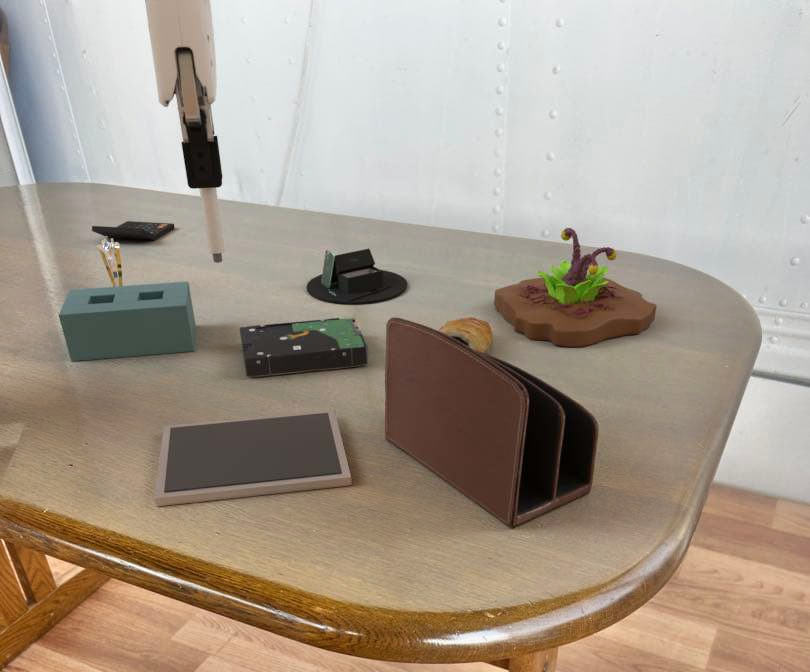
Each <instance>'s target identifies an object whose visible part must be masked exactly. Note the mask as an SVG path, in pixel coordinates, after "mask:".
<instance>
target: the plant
mask: <svg viewBox="0 0 810 672" xmlns="http://www.w3.org/2000/svg"><path fill="white" fill-rule="evenodd" d="M560 238H561V240H563V241H569V240H571V239H572V244H573V245H572V250H573V251H572V255H571V257H572V259H571V260H570V262H568V261H566V260H562V261H561V262H560V263H559V266H558V267H555V266H554V265H549V270H550V272H551V273H552V275H550V274H548V273H547V272H545V271H540V270H536V274H537V275H538V276H539V277H537V278H536V277H535V278H529V279H523V280H521V281H519V282H518V283H514V284H510V285H505V286H503V287H500V288H498V289H496V290H495V291H494V298H493V299H494V300H493V305H494V309H495V311H497V312H498V313H499V314H501V315H502V316H503V319H504V320H505V321H506V322H507V323H509V324H510V325H512V326H514V327H513V330H514V332H516V333H520V334H524V335H525V336H526V337H527V338H528V339H529V340H532V341H549V342H551V343H552V344H553V345H554V346H558V347H568V348H579V347H587V346H590V345H594V344H597V343H599V342H602V341H604V340H609V339H613V338H617V337H618V338H619V337H623V336H629V335H631V336H632V335H639V334H641V333H642V332H643V331H645V330H647V329H649V327H650V326H651V324H652V322H654V320H655V317H656V313H657V304H656V303H653V302H650V301H647V300H646V299H644V297H643V294H642V293H641V292H639V291H636V290H634V289H631V288H628V287H625V286H623V285H621V284H619V283H617V282H615V281H614V280H612V279H609V278H607V277H605V276H606V274H607V272H608V271H609V267H608V266H603V267H599V263H598V261H597V260H596V258H597V256H598V255H600V254H602V253H605V256H606V258H607V260H609V261H615V260H616V258H617V257H618V256H617V251H616V250H615V249H614V248H611V247H610V246H607V247H606V246H603V247H600V248H597V249H596V250H595V251H593V252H592V254H591V253H587V254H584V255H583V256H582V254H581V252H582V250H581V244H580V242H579V237H578V234H577V232H576V230H574V229H573V228H572V227H566V228H564V229H563V230H562V231H561V233H560Z"/></svg>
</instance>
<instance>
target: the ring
mask: <svg viewBox="0 0 810 672" xmlns="http://www.w3.org/2000/svg"><path fill="white" fill-rule="evenodd" d="M100 243H101V244H99V243H98V244H97V245H95V247H96V249H98V252H99V254H100V256H101V259H102V261H103V264H104V266H105V270H106V271H107V275H108V277H109V280H110V282H111V285H112V287H118V286H124V285H123V270H122V269H123V268H122V267H123V266H122V260H121V259H122V258H121V252H120V246H121V245H120V243H119V242H114V238H110V241H109V240H107V238H103V239H102V240H100ZM112 253H113V255H114V257H115V261H114V259H113V256H112ZM115 262H116V265H115ZM116 266H117V267H116Z"/></svg>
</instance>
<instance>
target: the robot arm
mask: <svg viewBox="0 0 810 672" xmlns="http://www.w3.org/2000/svg"><path fill="white" fill-rule="evenodd" d="M144 5H145V13H146V18H147V26H148V33H149V39H150V45H151V53H152V61H153V68H154V75H155V82H156V90H157V97H158V103H159V104H160V105H161V106H163V107H164V108H168V107H169V105H170V103H171V101H173V99H174V97H175V98H176V105H177V111H178V118H179V123H180V129H181V136H182V141H181V143H180V144H181V150H182V156H183V163H184V168H185V175H186V176H185V177H186V182H187V187H189V189H191V190H192V189H193V190H195V189H199V188H216V189H217V188H221V187H222V186H223V170H222V162H221V161H222V160H221V154H220V146H219V139H218V135H216V134H215V126H214V117H213V110H212V109H213V108H212V105H213V104H214V102H216V98H217V60H216V59H217V58H216V57H217V56H216V44H215V33H214V25H213V15H212V14H213V13H212V6H211V0H144ZM205 124H206V126H205Z"/></svg>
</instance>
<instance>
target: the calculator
mask: <svg viewBox="0 0 810 672" xmlns="http://www.w3.org/2000/svg"><path fill="white" fill-rule="evenodd" d="M175 227H176V226H175V224H174V223H168V222H152V221H131V220H127V221H124V222H123V223H121V224H119V225H117V226H102V225H92V226H91V231H92V232H93V233H96V234H98V235H101V236H103V237H105V236H108V237H107V238H109V237H120V238H119V239H126V238H132V239H131V240H143V239H145V240H144V241H157V240H159V239H160V238H162V237H163V236H165V235H167V234H169V233H170V232H171V230H172V231H173V230H175V229H174V228H175ZM166 233H167V234H166Z"/></svg>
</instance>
